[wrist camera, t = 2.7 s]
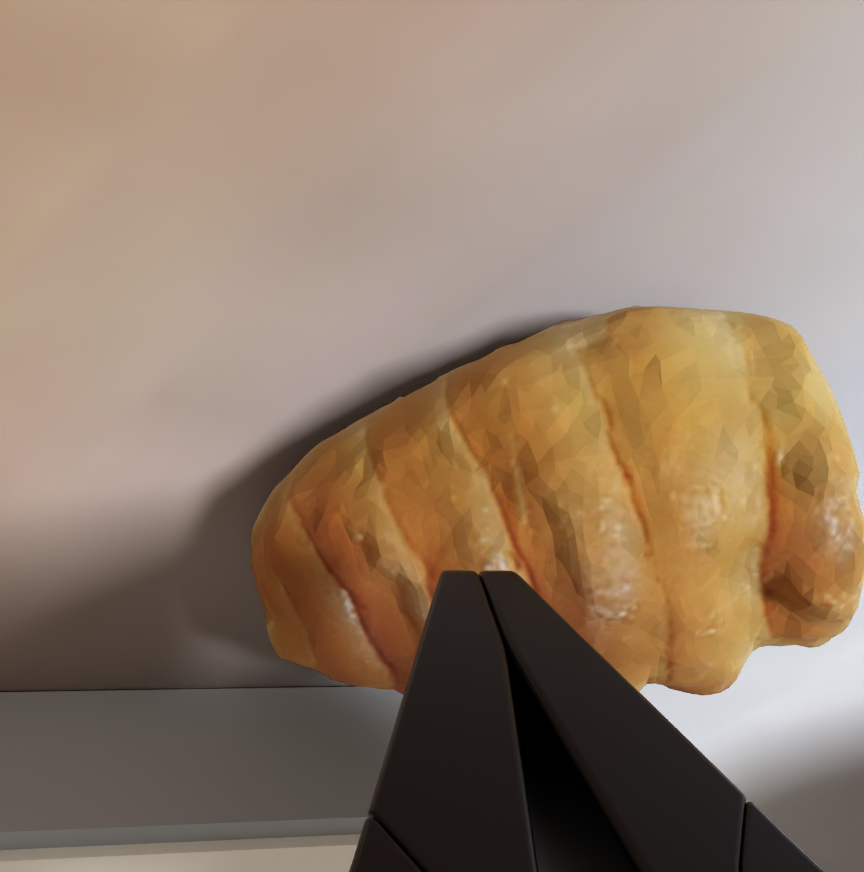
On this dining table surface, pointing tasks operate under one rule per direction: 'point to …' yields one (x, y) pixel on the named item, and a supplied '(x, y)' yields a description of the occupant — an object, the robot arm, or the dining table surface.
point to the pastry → (583, 502)
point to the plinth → (189, 778)
